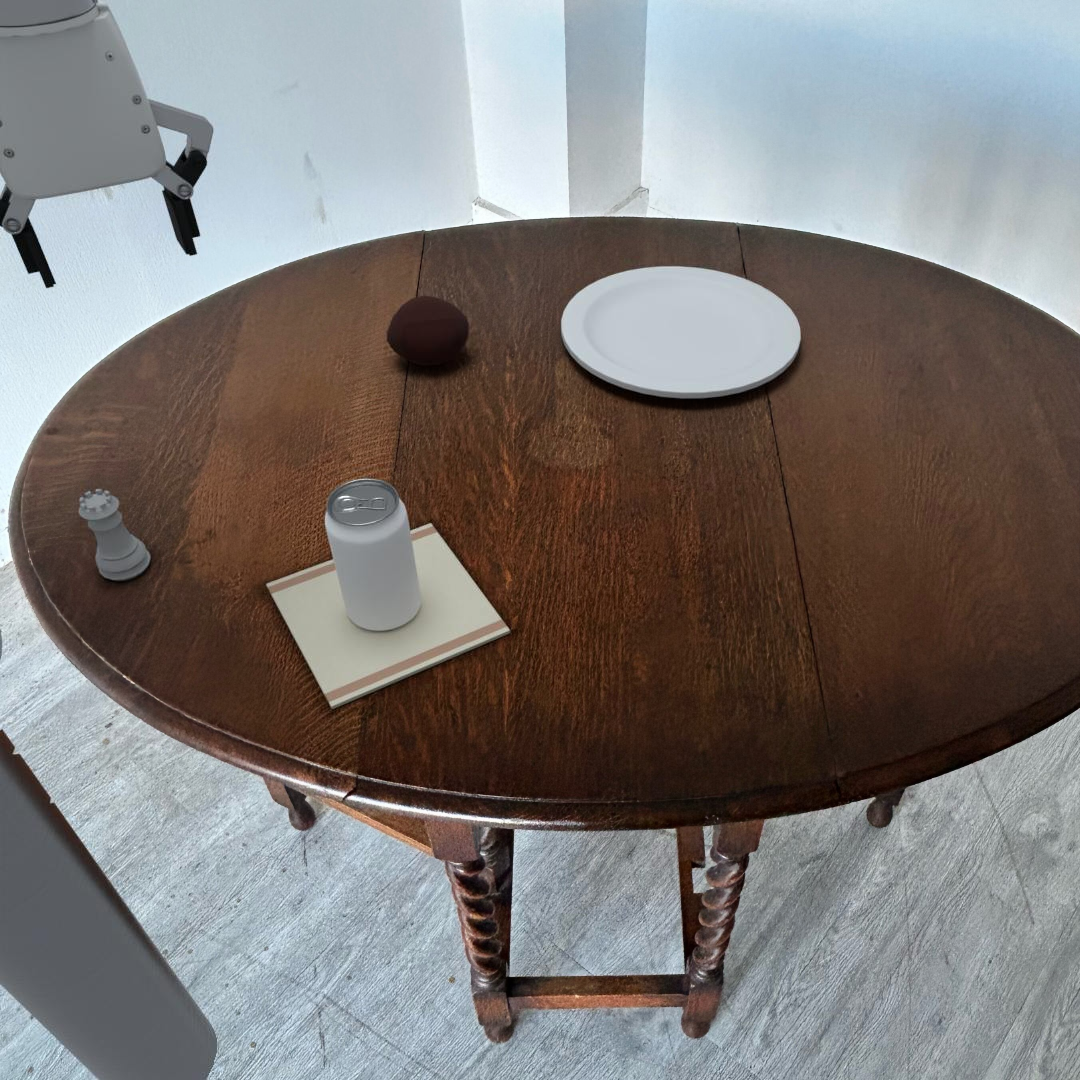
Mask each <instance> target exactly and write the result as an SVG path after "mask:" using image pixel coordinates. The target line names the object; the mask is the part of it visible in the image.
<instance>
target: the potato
mask: <svg viewBox="0 0 1080 1080" xmlns="http://www.w3.org/2000/svg"><path fill="white" fill-rule="evenodd" d="M469 326H470V323H469V321H468V318H467V316H466V315H465V314H464V313H463V312H462V311H461V310H460V309H459V308H458V307H457V306H455V305H454V304H453V303H451V302H449V301H447V300H445V299H443V298H440V297H436V296H430V295H421V296H417V297H412V298H410V299H409V300H407V301H406V302H404V303H403V304H401V306H400V307H399V308H398V309H397V311H396V312H395V313H394V314H393V316H392V317H391V320H390V323H389V326H388V327H387V331H386V341H387V343H388V346H389V347H390V349H392V350H393V352H394V353H395V354H397V355H398V356H399V357H400V358H402V359H404V360H406V361H408V362H410V363H412V364H416V365H419V366H423V367H424V366H438V365H440V364H443V363H446V362H448V361H450V360H452V359H453V358H455V357H456V356H457V355H458V354H459V353H460V352H461V351H462V350H463V349H464V347H465V345H466V343H467V342H468V339H469V334H470V333H469V331H470V330H469V329H470V327H469Z"/></svg>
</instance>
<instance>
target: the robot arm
mask: <svg viewBox="0 0 1080 1080" xmlns="http://www.w3.org/2000/svg"><path fill="white" fill-rule="evenodd" d="M159 127H161V128H164V129H166V130H167V129H168V130H170V131H174V132H177V133H180V134H184V135H186V140H185V142H186V144H185V147H183V148H184V149H183V150H182V151H181V153H180V155H179V156H178V158H177V160H176V162H175V163H174V164H172V163H171V162H170V161H168V160H167V157H166V151H165V146H164V143H163V140H162V137H161V133H160V131H159ZM213 134H214V126H213V125H212V123H211V122H210V121H209V120H208V119H207V117H205V116H203V115H200V114H197V113H194V112H190V111H188V110H184V109H182V108H178V107H175V106H172V105H169V104H166V103H162V102H159V101H156V100H153V99H150V98H148V95H147V93H146V90H145V87H144V85H143V82H142V78H141V76H140V74H139V71H138V69H137V65H136V64H135V62H134V59H133V57H132V55H131V53H130V51H129V48H128V46H127V43H126V40H125V38H124V35H123V33H122V31H121V29H120V27H119V25H118V22H117V21H116V19H115V16H114V15H113V13H112V10H111V9H110V7H109V5H108V3H106V2H105V1H102V0H0V176H1V177H2V179H3V181H4V183H5V184H4V186H3V187H2V191H1V193H0V227H1V228H2V229H3V230H4V231H5V232H6V233H8V234H11V237H12V239H13V242H14V244H15V246H16V249H17V251H18V253H19V255H20V258H21V260H22V263H23V266H24V267H25V270H26V272H27V274H28V275H31V274H34V273H39V275H40V278H41V280H42V282H43V284H44V287H45V289H51V288H54V287H55V285H57V282H56V280H55V277H54V275H53V272H52V270H51V267H50V265H49V263H48V260H47V258H46V255H45V252H44V250H43V248H42V245H41V243H40V240H39V238H38V235H37V233H36V231H35V229H34V226H33V224H32V222H31V220H30V218H29V216H30V215H31V212H32V209H33V207H34V205H35V202H36V200H45V199H46V200H47V199H51V198H57V197H62V196H68V195H73V194H78V193H85V192H88V191H95V190H99V189H105V188H109V187H115V186H121V185H124V184H129V183H134V182H138V181H143V180H145V179H147V180H148V179H149V178H151V179H152V180H154V181H156V182H157V183H158V184H159V185H161V186H162V187H163V189H162V191H161V192H162V193H161V194H162V196H163V199H164V202H165V203H164V204H165V206H166V209H167V212H168V216H169V219H170V222H171V225H172V229H173V232H174V235H175V239H176V241H177V243H178V244H179V246H180V247H181V249H182V251H183V252H184V253H185V255H189V256H190V257H192V256H196V255H198V252H197V248H196V245H195V241H194V238H199V237H201V232H200V229H199V225H198V221H197V217H196V214H195V210H194V207H193V203H192V200H191V198H192V197H193V195H194V192H195V191H194V190H195V189H194V187H195V186H196V184H197V182H198V181H199V179H200V178H201V177H202V174H203V173H204V171H205V170H206V168H207V166H208V154H209V153H210V150H211V149H210V148H211V144H212V140H213Z"/></svg>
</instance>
